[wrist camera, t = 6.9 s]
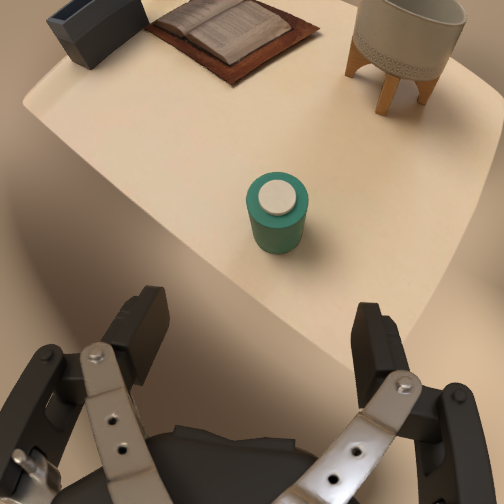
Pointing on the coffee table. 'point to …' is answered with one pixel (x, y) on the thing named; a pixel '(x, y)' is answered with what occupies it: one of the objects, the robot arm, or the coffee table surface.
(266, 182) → the plastic bottle
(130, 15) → the open storage box
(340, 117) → the coffee table surface
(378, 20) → the planter
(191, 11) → the book
